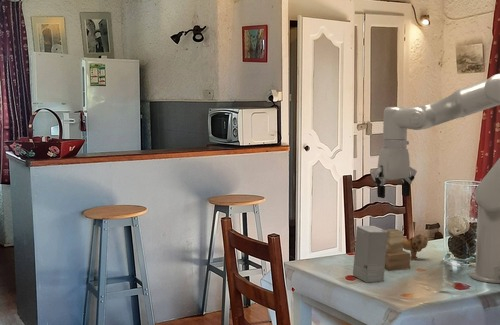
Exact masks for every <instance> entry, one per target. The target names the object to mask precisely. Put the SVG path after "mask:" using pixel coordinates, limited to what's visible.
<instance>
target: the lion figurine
mask: <svg viewBox="0 0 500 325" xmlns="http://www.w3.org/2000/svg"><path fill="white" fill-rule="evenodd" d="M428 243H429V240H428V237H427V236H426V234H423V233H421V234H420V233H419V234H417V235H416V236H412V237H411V238H409V239H406V238H404V237H403V250H405V251H410V260H411V261H416V260H417V259H419V258H418V256H417V253H418V252H422V250H423V249H426V248H427V246H428Z"/></svg>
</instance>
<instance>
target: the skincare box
mask: <svg viewBox="0 0 500 325" xmlns="http://www.w3.org/2000/svg"><path fill="white" fill-rule="evenodd" d="M385 230H386V229H383V228H381V227H378V226H375V225H358V226H356V234H355V235H356V236H355V244H354V245H355V246H354V257H353V270H352V276H354V277H355V278H357V279H359V280H361V281H363V282H364V283H376V282H384V279H385V270H386V269H385V257H386V245H387V234H388V232H387V231H385Z"/></svg>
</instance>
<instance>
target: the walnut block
mask: <svg viewBox="0 0 500 325" xmlns="http://www.w3.org/2000/svg"><path fill="white" fill-rule="evenodd" d="M410 268H411V252H407V251H406V250H405V251H404V250H403V253H395V254H390V253H388V252H386V257H385V269H384V270H385V271H386V270H387V271H388V272H389V271H399V270H408V269H410Z"/></svg>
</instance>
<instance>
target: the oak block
mask: <svg viewBox="0 0 500 325" xmlns="http://www.w3.org/2000/svg"><path fill="white" fill-rule="evenodd" d="M384 230H385V231H387V232H388V234H387V245H386V252H388V253H390V254H395V253H403V251H404V248H403V238H404V230H403V231H402V230H400V229H398V228H397V229H396V228H391V229H384Z"/></svg>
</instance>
